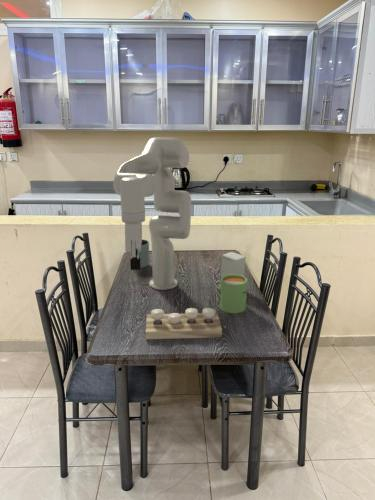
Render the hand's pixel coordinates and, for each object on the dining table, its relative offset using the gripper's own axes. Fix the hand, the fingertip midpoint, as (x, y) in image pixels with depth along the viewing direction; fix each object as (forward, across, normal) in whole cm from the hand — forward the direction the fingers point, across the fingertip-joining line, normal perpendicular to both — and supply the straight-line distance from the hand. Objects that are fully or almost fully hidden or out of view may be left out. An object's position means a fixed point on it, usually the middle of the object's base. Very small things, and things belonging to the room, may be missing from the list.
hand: (135, 268), depth 133 cm
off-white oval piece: (+21, +1, +7) cm, 22 cm away
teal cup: (+23, -63, -3) cm, 67 cm away
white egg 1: (+23, +1, +13) cm, 26 cm away
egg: (+21, +1, +25) cm, 33 cm away
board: (+23, +1, +16) cm, 28 cm away
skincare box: (+23, -32, +39) cm, 56 cm away
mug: (+23, -16, +37) cm, 47 cm away
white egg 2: (+21, +1, +19) cm, 28 cm away
